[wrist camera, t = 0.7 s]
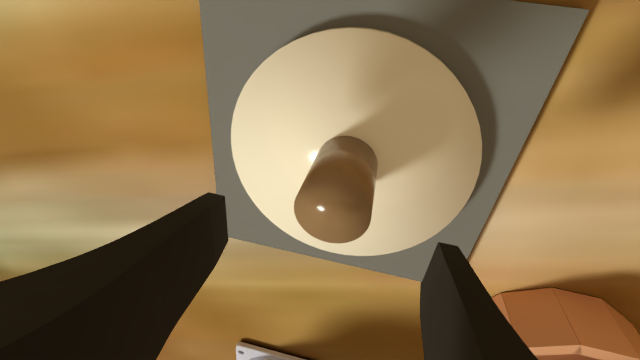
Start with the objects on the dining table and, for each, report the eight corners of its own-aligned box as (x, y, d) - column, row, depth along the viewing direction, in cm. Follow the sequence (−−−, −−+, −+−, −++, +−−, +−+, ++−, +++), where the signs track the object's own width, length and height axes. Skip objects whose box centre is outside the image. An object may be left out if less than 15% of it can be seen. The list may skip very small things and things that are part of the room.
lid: (434, 265, 19) (444, 342, 15) (241, 222, 20) (202, 281, 16) (525, 48, 12) (587, 80, 8) (231, 8, 14) (162, 18, 10)
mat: (451, 282, 20) (452, 289, 19) (223, 230, 22) (220, 235, 21) (583, 8, 12) (589, 9, 11) (201, -37, 14) (195, -38, 13)
